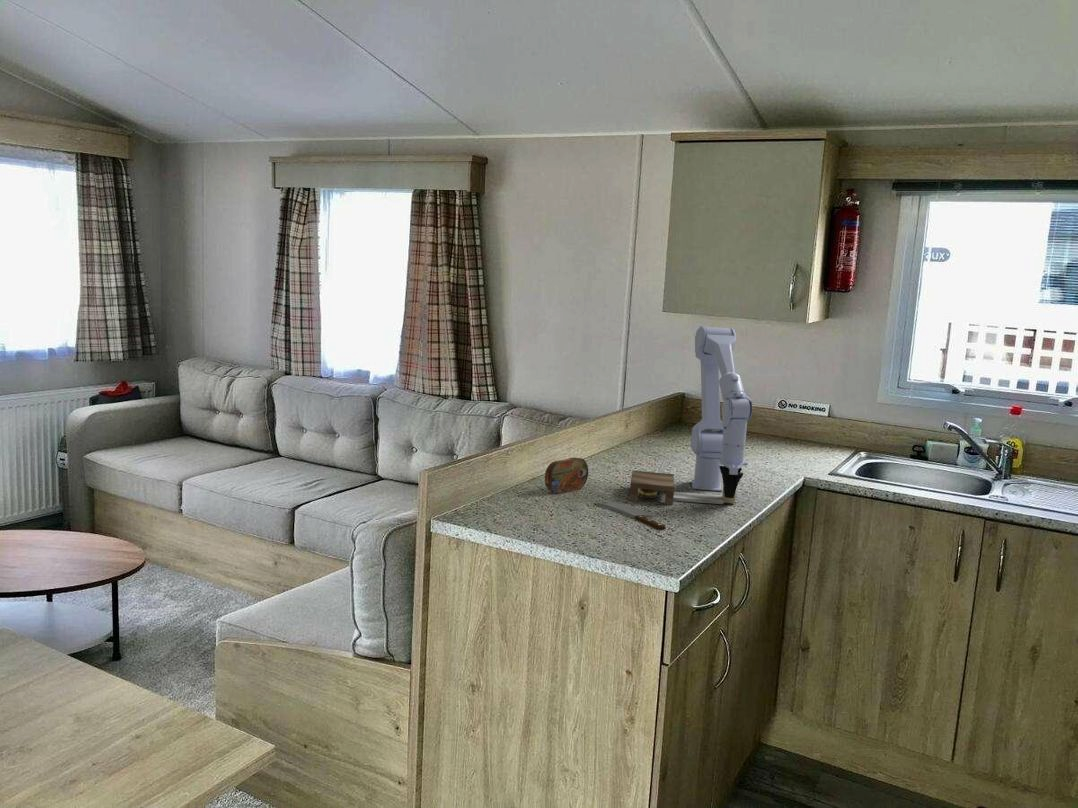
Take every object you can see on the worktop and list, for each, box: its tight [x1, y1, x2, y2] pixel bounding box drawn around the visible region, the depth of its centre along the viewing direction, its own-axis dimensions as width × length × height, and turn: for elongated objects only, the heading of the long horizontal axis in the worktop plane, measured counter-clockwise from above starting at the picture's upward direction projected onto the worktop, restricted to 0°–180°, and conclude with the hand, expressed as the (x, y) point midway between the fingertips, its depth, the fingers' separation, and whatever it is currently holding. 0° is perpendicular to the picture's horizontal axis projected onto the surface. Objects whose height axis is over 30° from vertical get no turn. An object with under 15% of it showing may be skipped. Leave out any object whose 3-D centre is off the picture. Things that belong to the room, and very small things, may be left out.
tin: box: [544, 457, 589, 495], centre depth 234 cm, size 15×3×8 cm, turn 137°
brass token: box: [638, 488, 659, 499], centre depth 234 cm, size 5×5×2 cm
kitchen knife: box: [596, 500, 666, 531], centre depth 215 cm, size 24×1×10 cm
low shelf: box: [628, 470, 675, 506], centre depth 233 cm, size 14×11×5 cm
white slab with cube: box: [673, 480, 737, 505], centre depth 232 cm, size 6×16×6 cm, turn 82°
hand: (728, 495), depth 231 cm, fingers closed on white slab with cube, 3 cm apart
